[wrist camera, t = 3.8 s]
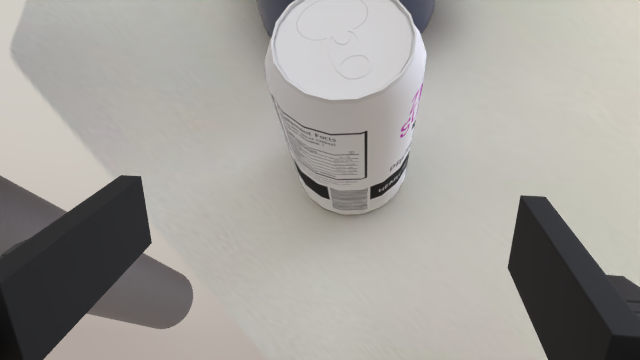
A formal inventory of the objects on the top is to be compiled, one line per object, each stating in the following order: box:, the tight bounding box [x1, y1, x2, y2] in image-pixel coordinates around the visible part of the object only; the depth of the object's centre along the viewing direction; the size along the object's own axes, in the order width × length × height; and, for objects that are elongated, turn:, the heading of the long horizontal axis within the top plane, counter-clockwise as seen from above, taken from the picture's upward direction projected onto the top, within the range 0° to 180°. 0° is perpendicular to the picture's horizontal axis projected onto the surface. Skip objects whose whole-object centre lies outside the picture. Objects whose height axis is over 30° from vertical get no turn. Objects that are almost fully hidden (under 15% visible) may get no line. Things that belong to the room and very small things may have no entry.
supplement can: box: [264, 0, 427, 214], centre depth 29 cm, size 8×8×15 cm
